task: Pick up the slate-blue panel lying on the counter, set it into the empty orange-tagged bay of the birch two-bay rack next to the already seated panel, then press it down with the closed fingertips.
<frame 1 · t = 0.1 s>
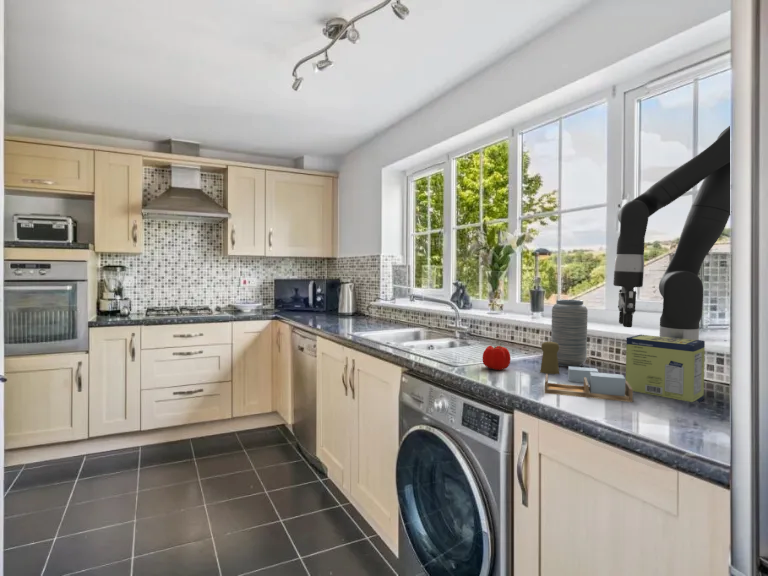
hand: (625, 325, 127), 17 cm above the table, tool pointing down, fingers open, 8 cm apart
seated panel: (606, 394, 110), point 1 cm above the table, touching rack
tomato: (495, 369, 146), on the table
cork: (549, 377, 136), on the table
panel: (582, 386, 125), on the table
rack: (585, 398, 112), on the table
vase: (568, 365, 154), on the table
protein box: (663, 398, 113), on the table
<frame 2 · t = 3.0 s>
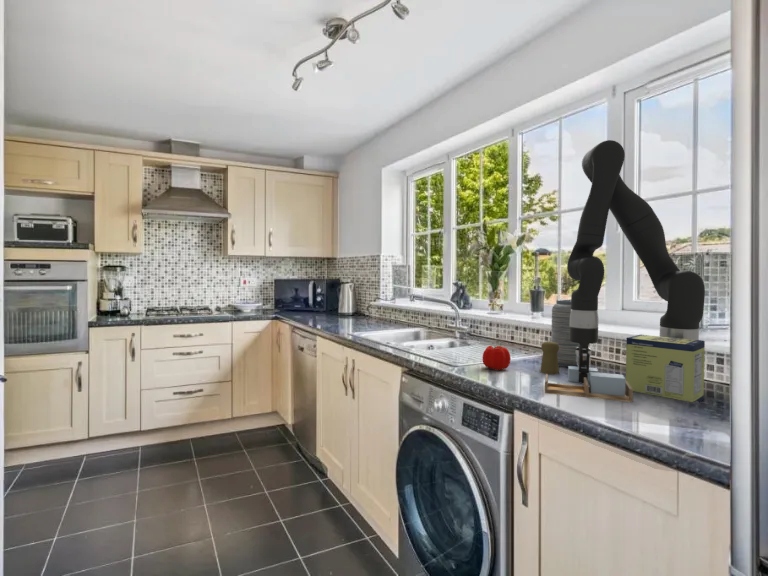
hand: (582, 384, 125), 0 cm above the table, tool pointing down, fingers closed on panel, 4 cm apart
panel: (582, 385, 125), on the table, touching gripper
everything else where it was.
when the fingers open (3 cm above the table, at t = 7.8 s): panel drops 1 cm, resting on rack.
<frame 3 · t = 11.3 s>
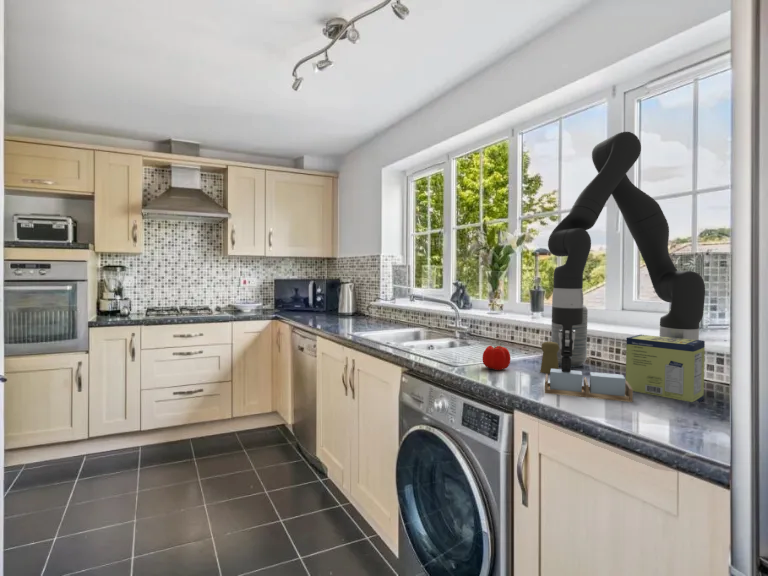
hand: (565, 371, 113), 7 cm above the table, tool pointing down, fingers closed
panel: (565, 390, 114), point 2 cm above the table, touching gripper, rack
everything else where it was.
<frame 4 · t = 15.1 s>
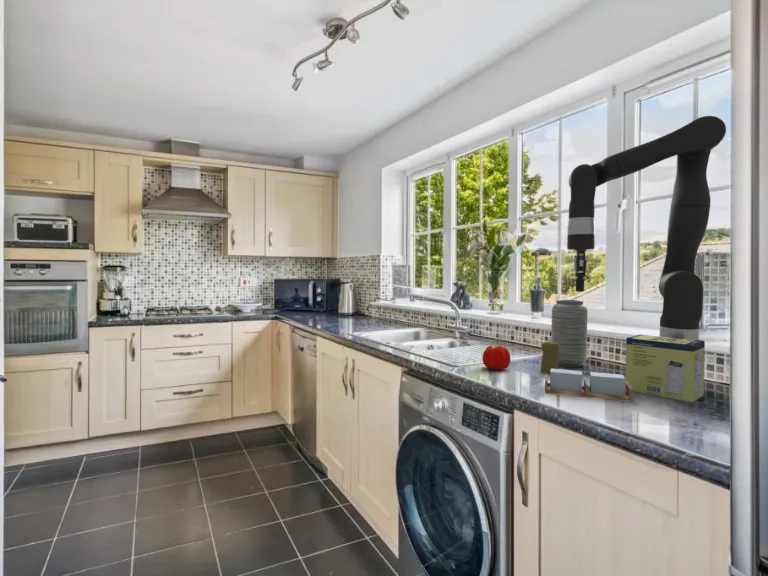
hand: (579, 291, 130), 27 cm above the table, tool pointing down, fingers closed
panel: (565, 390, 114), point 2 cm above the table, touching rack
everything else where it was.
at the end: panel 0.1 cm from the target spot on the rack, point 1.6 cm above the rack's base; panel tilted 0°; the gripper is holding nothing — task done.
